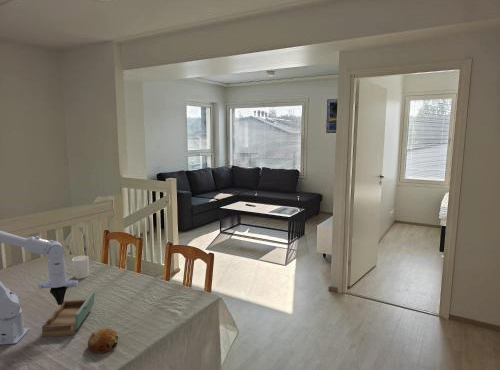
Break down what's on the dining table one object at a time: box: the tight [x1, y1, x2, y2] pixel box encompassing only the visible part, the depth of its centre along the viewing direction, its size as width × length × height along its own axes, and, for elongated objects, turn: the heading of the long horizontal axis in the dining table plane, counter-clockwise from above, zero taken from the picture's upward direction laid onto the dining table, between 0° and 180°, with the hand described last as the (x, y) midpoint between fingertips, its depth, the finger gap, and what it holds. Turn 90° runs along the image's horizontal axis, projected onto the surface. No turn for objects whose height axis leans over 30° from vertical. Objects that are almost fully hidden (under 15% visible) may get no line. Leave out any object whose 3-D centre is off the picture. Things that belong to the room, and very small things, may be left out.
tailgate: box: [75, 291, 96, 330], centre depth 141 cm, size 19×2×6 cm, turn 6°
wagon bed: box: [41, 299, 92, 338], centre depth 140 cm, size 20×11×4 cm, turn 6°
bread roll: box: [87, 327, 119, 355], centre depth 125 cm, size 10×10×8 cm
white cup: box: [71, 255, 90, 280], centre depth 183 cm, size 8×8×10 cm
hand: (60, 303), depth 139 cm, fingers closed
